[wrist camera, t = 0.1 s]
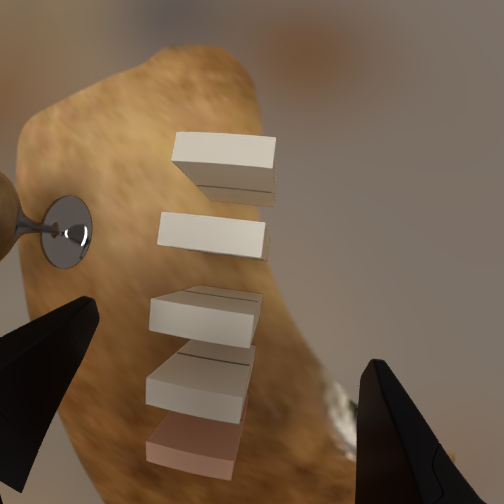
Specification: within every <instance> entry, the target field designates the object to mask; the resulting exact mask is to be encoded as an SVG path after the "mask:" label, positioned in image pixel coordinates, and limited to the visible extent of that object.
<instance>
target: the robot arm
mask: <svg viewBox="0 0 504 504" xmlns="http://www.w3.org/2000/svg"><path fill="white" fill-rule="evenodd" d="M98 323H99V313H98V309H97V305H96V301H95V300H94V299H93V298H91V297H88V296H82V297H80V298H78V299H76V300H74V301H71V302H69V303H67V304H65V305H63V306H61V307H59V308H57V309H55V310H53V311H51V312H49V313H47V314H45V315H43V316H41V317H39V318H37V319H35V320H33V321H31V322H29V323H27V324H25V325H23V326H21V327H19V328H18V329H16V330H14V331H12V332H10V333H8V334H6V335H4V336H3V337H0V481H1V482H3V483H4V484H6V485H8V486H9V487H11V488H13V489H14V490H16V491H18V492H20V493H22V491H23V489H24V486H25V483H26V481H27V478H28V475H29V473H30V470H31V468H32V465H33V463H34V460H35V458H36V456H37V453H38V449H39V448H40V446H41V444H42V441H43V439H44V436H45V434H46V432H47V430H48V428H49V426H50V423H51V421H52V419H53V417H54V415H55V413H56V411H57V409H58V407H59V405H60V403H61V401H62V399H63V397H64V395H65V393H66V391H67V389H68V387H69V385H70V383H71V381H72V379H73V377H74V375H75V373H76V371H77V369H78V368H79V366H80V364H81V362H82V360H83V358H84V356H85V353H86V351H87V349H88V346H89V344H90V342H91V339H92V337H93V335H94V332H95V330H96V328H97V326H98ZM0 504H3V502H2V499H1V496H0ZM355 504H486V503H485V502H484V501H483V500H481V499H480V497H479V496H478V495H477V494H476V492H475V491H474V490H473V488H472V487H471V486H470V485H469V483H468V482H467V481H466V479H465V478H464V477H463V476H462V474H461V473H460V472H459V470H458V469H457V468H456V466H455V465H454V463H453V462H452V461H451V459H450V458H449V456H448V455H447V453H446V452H445V450H444V448H443V447H442V445H441V444H440V443H439V441H438V439H437V438H436V436H435V435H434V433H433V432H432V430H431V428H430V427H429V425H428V424H427V422H426V421H425V419H424V418H423V416H422V415H421V413H420V412H419V410H418V409H417V407H416V406H415V404H414V403H413V401H412V400H411V398H410V397H409V395H408V394H407V392H406V391H405V389H404V388H403V386H402V385H401V383H400V382H399V380H398V379H397V378H396V376H395V375H394V373H393V372H392V370H391V369H390V367H389V366H388V365H387V363H386V362H385V361H384V360H380V359H372V360H370V362H369V364H368V365H367V367H366V369H365V370H364V372H363V374H362V376H361V380H360V390H359V402H358V413H357V461H356V492H355Z"/></svg>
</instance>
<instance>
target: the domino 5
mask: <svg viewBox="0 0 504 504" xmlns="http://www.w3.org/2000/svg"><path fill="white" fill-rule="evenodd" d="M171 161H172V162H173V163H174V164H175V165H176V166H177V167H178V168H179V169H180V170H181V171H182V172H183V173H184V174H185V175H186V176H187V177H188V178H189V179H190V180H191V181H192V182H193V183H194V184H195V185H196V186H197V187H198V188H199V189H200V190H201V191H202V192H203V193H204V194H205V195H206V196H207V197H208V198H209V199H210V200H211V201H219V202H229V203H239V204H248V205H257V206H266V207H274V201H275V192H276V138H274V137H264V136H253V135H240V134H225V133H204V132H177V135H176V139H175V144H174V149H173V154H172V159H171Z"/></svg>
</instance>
